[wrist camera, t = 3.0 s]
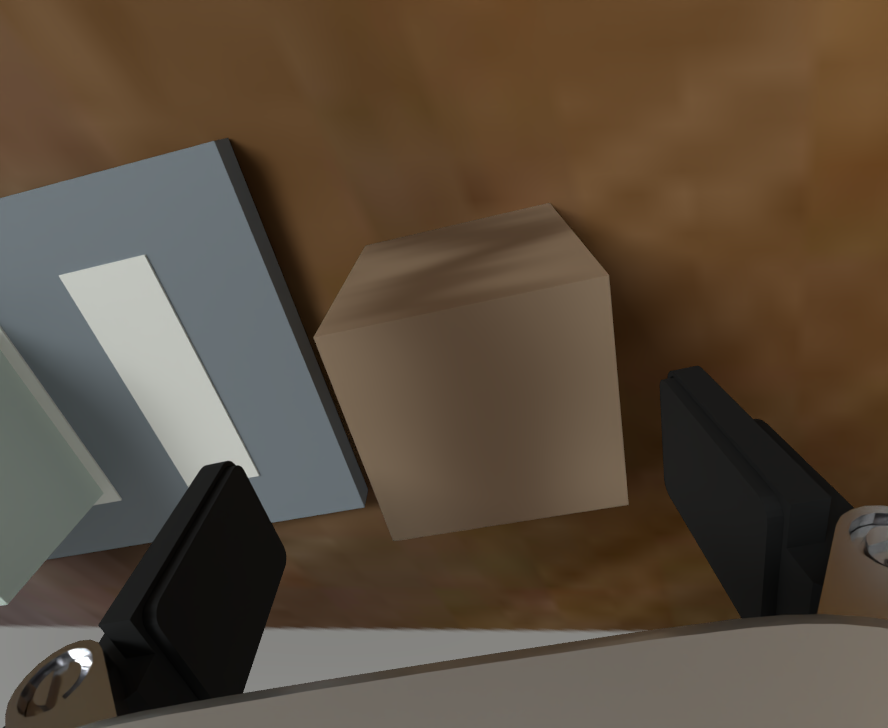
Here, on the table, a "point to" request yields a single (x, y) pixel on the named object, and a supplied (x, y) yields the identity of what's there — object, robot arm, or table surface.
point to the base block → (34, 485)
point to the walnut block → (480, 374)
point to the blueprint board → (167, 344)
